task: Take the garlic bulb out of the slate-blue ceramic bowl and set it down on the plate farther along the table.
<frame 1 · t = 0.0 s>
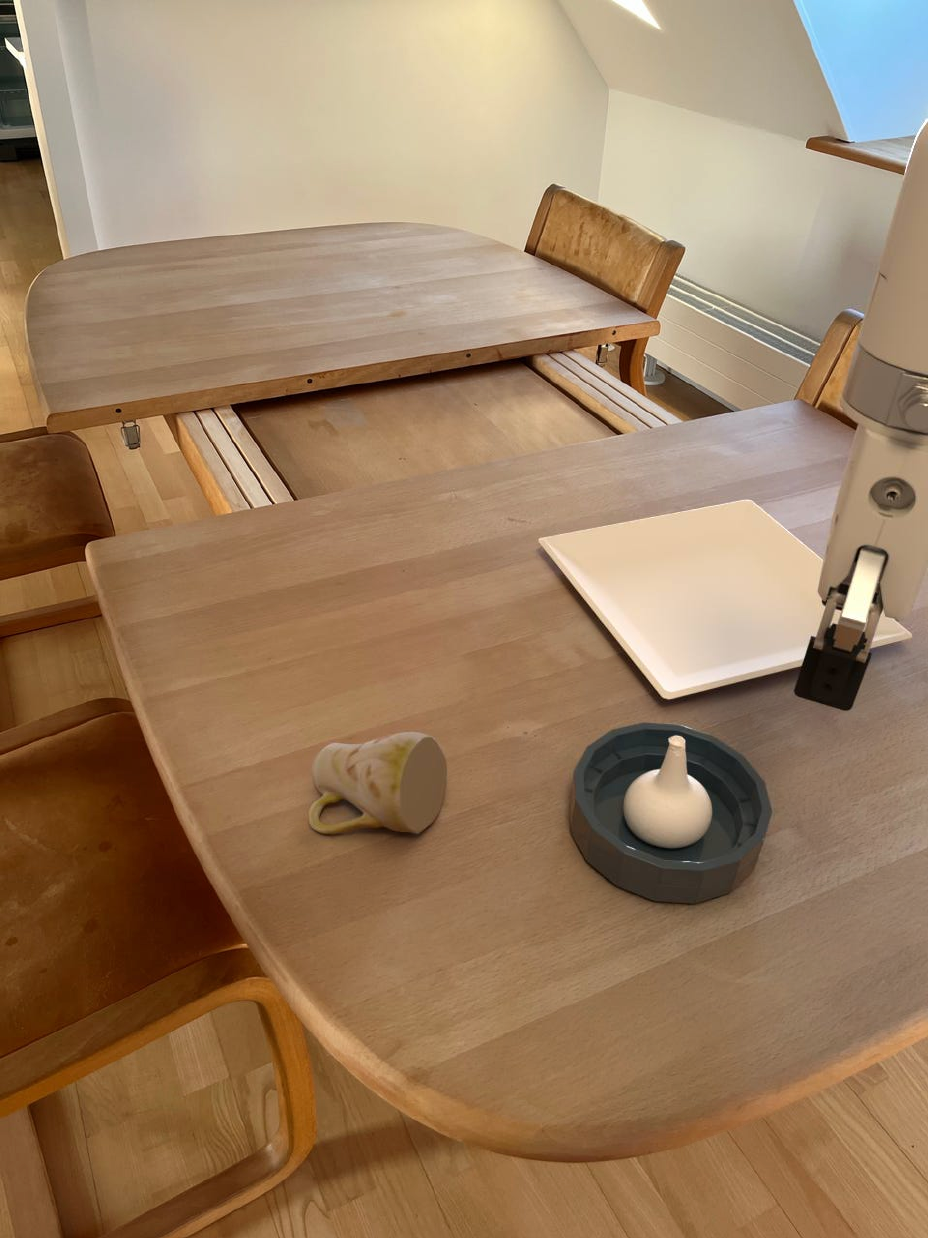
hand: (834, 652, 57), 18 cm above the table, tool pointing down, fingers open, 9 cm apart
plate: (709, 601, 92), on the table
garlic bulb: (663, 825, 69), resting on bowl
bowl: (662, 827, 69), on the table
mug: (374, 807, 70), on the table
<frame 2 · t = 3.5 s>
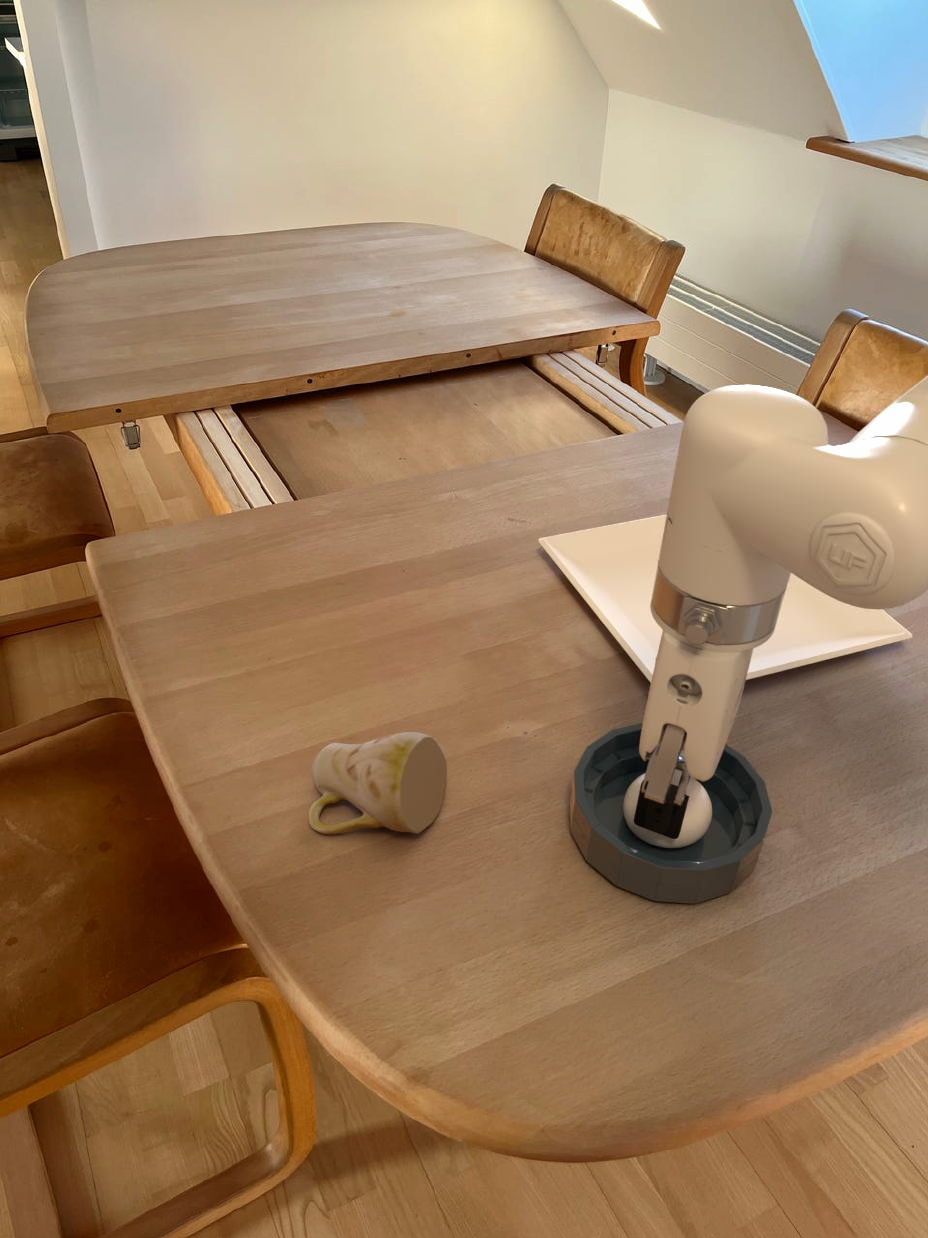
hand: (669, 796, 67), 3 cm above the table, tool pointing down, fingers closed on garlic bulb, 5 cm apart
garlic bulb: (663, 825, 69), resting on bowl, touching gripper
everything else where it was.
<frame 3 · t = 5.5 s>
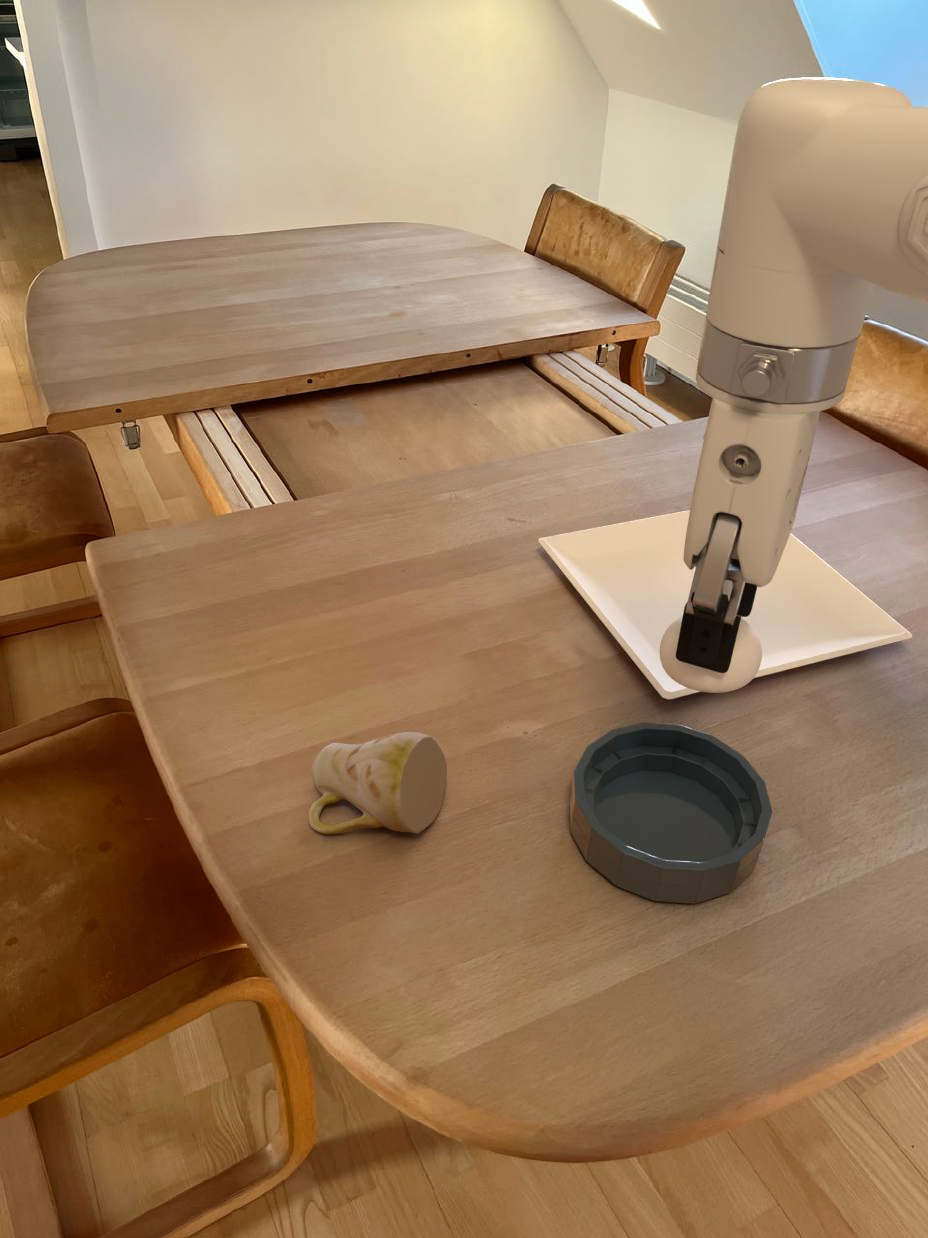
hand: (714, 633, 59), 18 cm above the table, tool pointing down, fingers closed on garlic bulb, 5 cm apart
garlic bulb: (705, 673, 61), point 15 cm above the table, touching gripper
everything else where it was.
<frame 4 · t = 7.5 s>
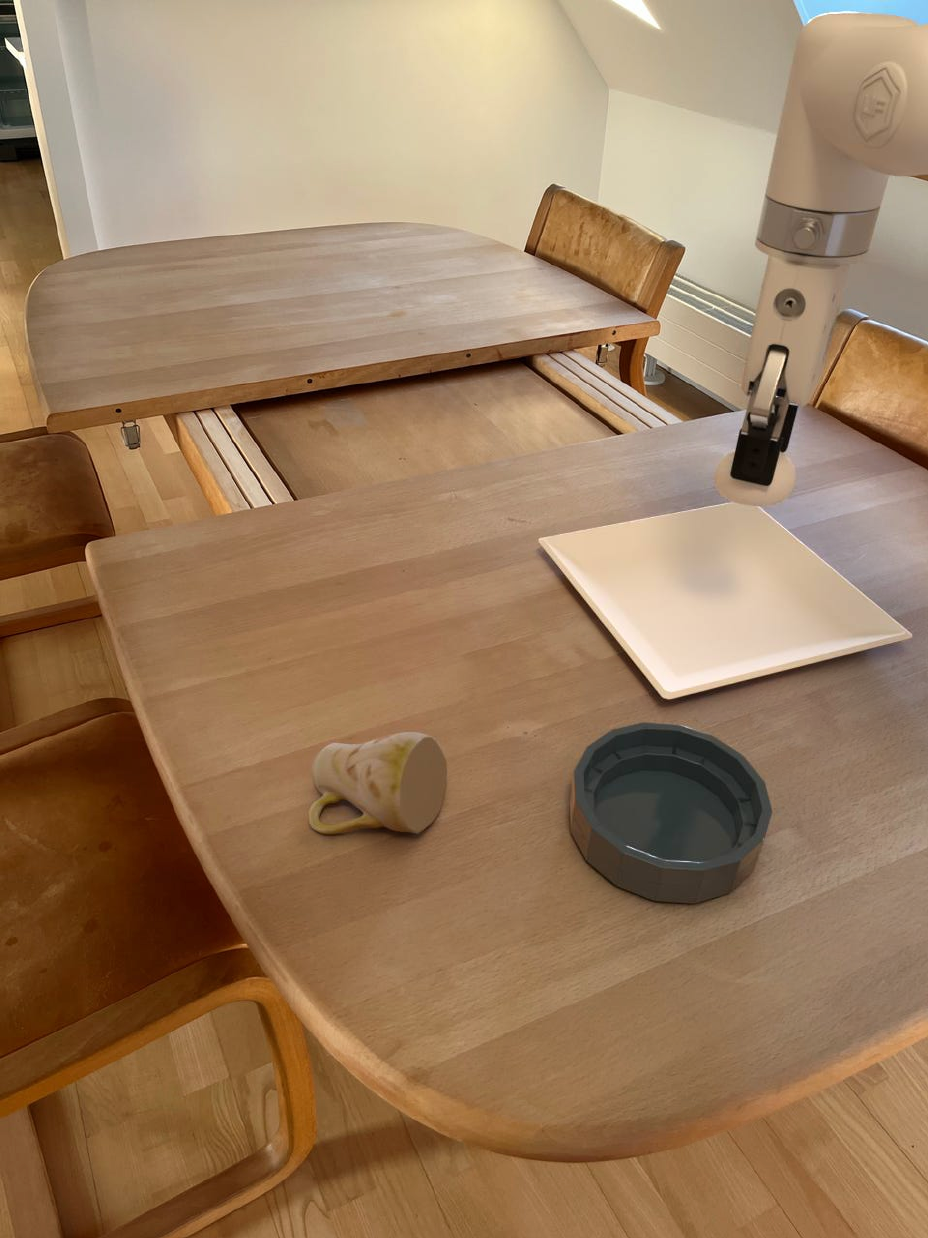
hand: (759, 461, 75), 19 cm above the table, tool pointing down, fingers closed on garlic bulb, 5 cm apart
garlic bulb: (749, 497, 77), point 16 cm above the table, touching gripper
everything else where it was.
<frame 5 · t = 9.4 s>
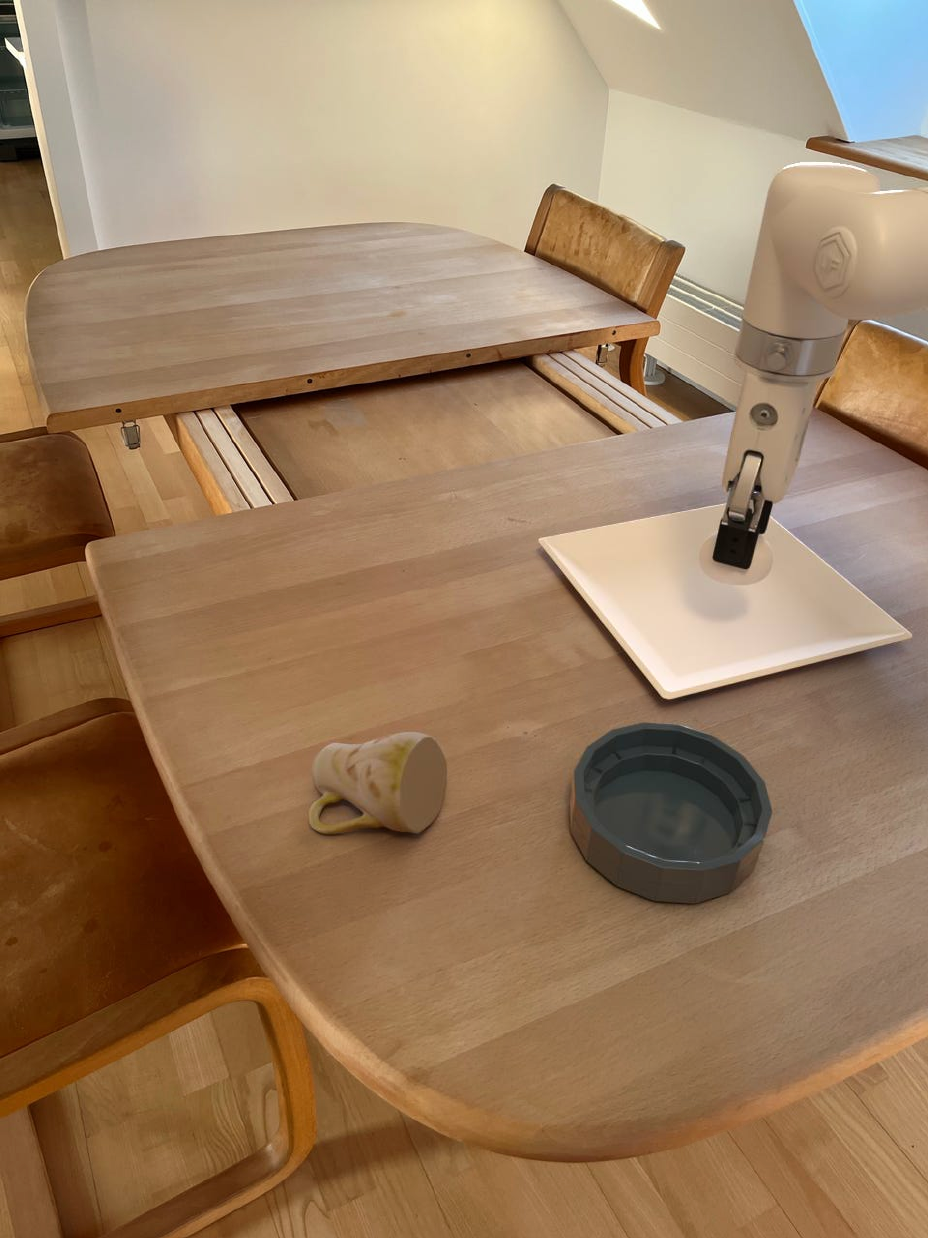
hand: (739, 544, 82), 10 cm above the table, tool pointing down, fingers closed on garlic bulb, 5 cm apart
garlic bulb: (731, 574, 84), point 7 cm above the table, touching gripper
everything else where it was.
when the fingers open (5 cm above the table, at t = 11.0 s): garlic bulb stays where it is, resting on plate.
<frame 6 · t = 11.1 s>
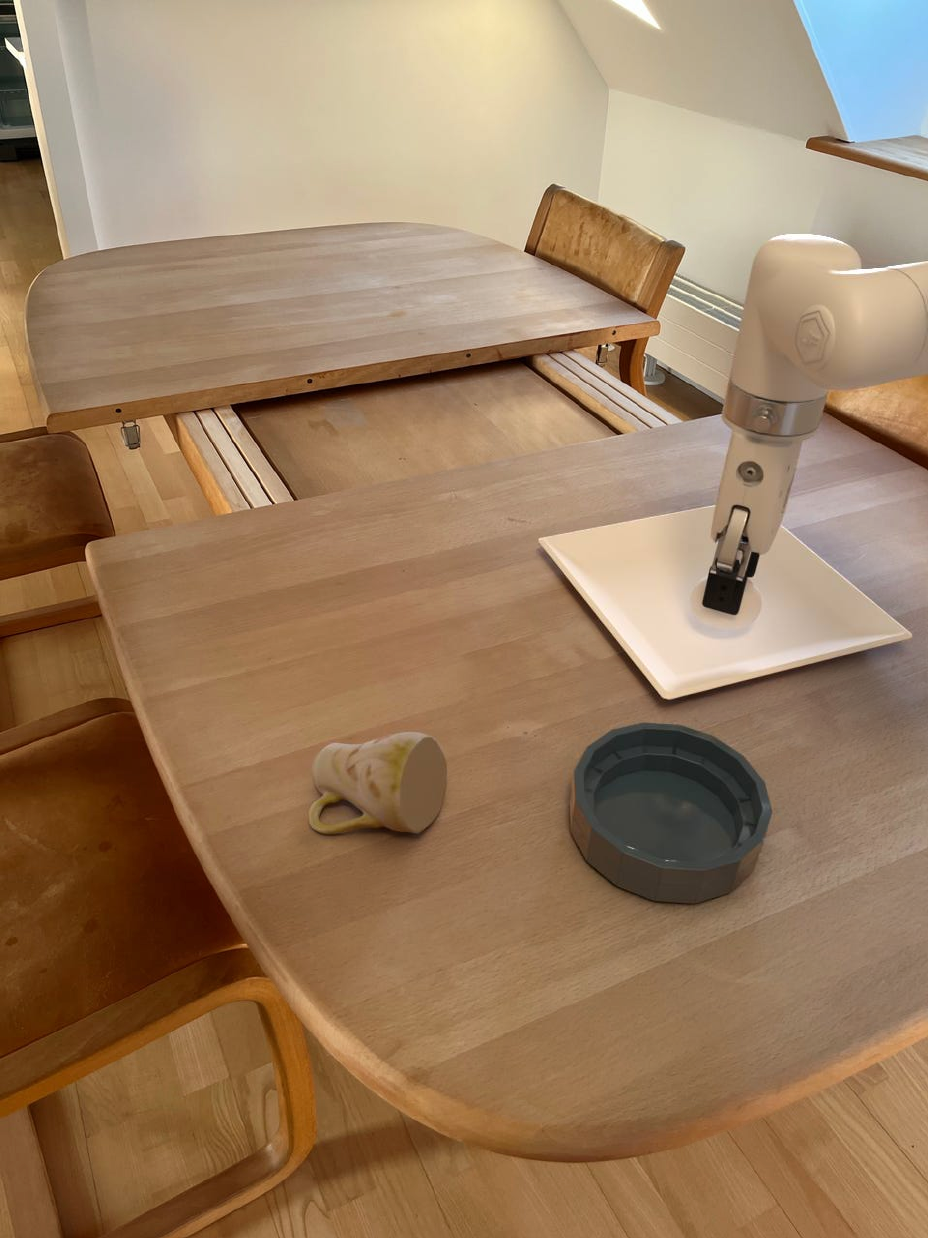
hand: (728, 588, 85), 5 cm above the table, tool pointing down, fingers open, 5 cm apart
plate: (709, 601, 92), on the table, touching garlic bulb
garlic bulb: (721, 617, 87), point 2 cm above the table, touching plate
everything else where it was.
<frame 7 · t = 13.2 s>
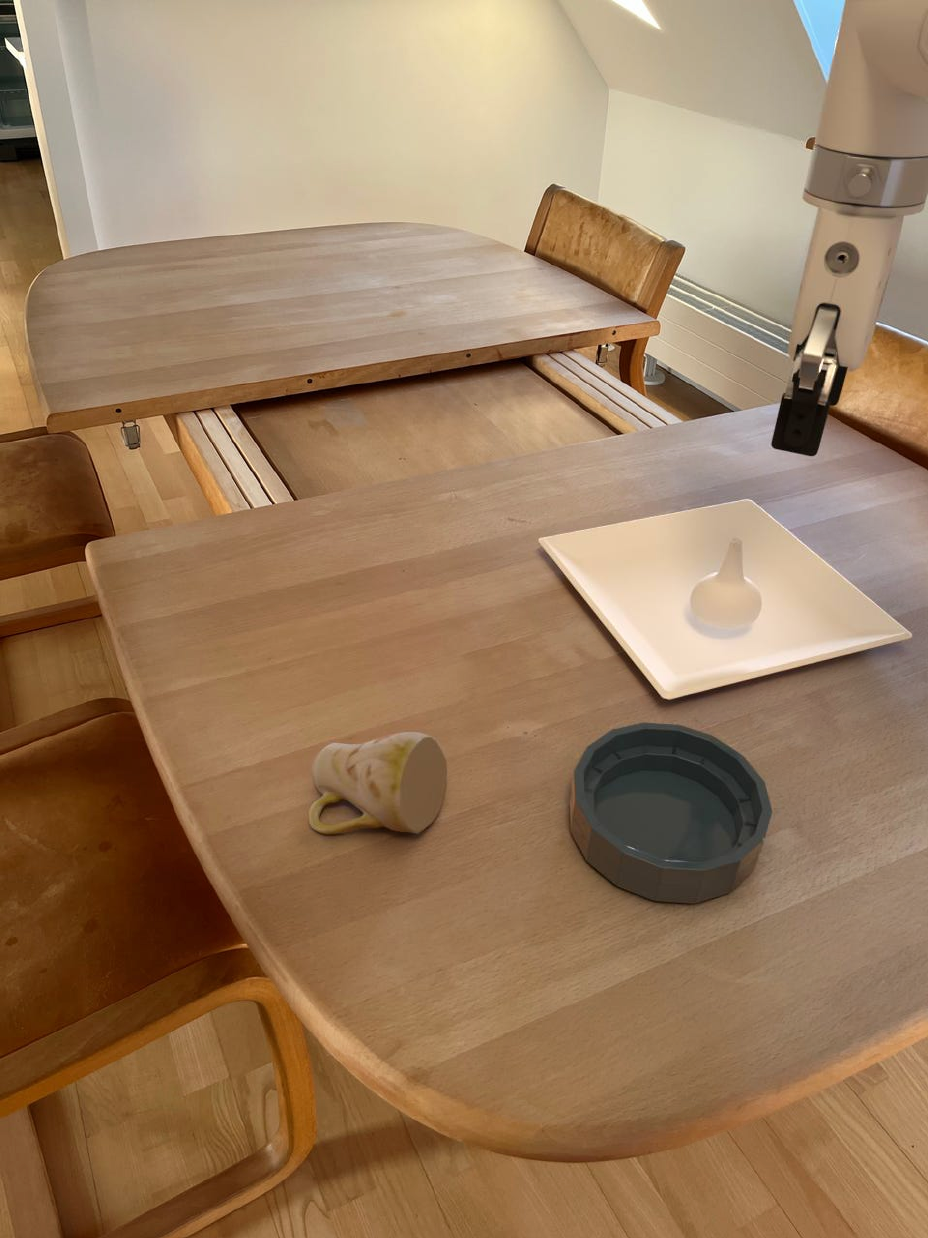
hand: (805, 424, 70), 23 cm above the table, tool pointing down, fingers open, 9 cm apart
nothing on the table moved.
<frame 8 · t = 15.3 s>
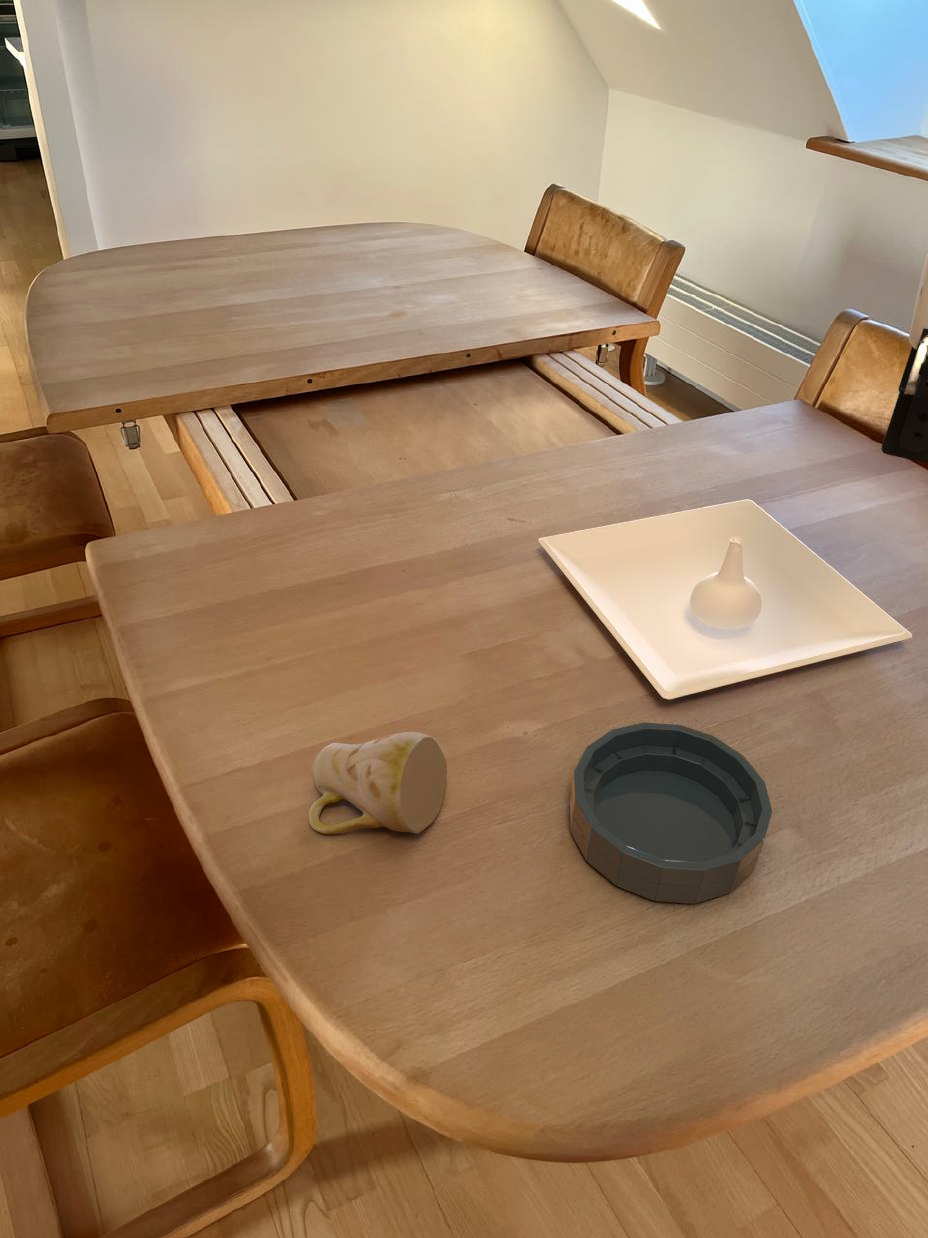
hand: (915, 424, 59), 28 cm above the table, tool pointing down, fingers open, 9 cm apart
nothing on the table moved.
at the end: garlic bulb inside the target area on the plate (5.4 cm from its centre), point 2.1 cm above the plate's base; garlic bulb touching plate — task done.
